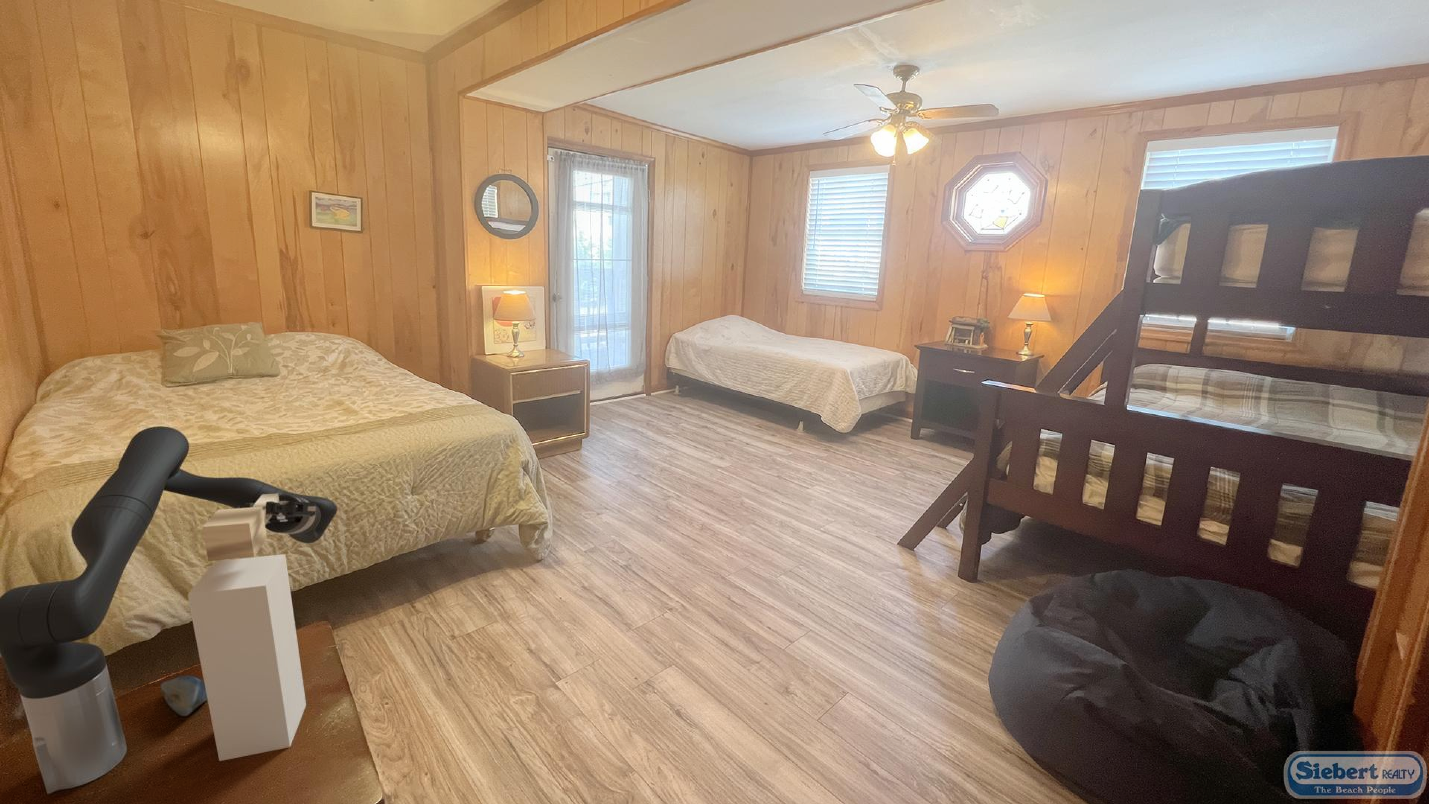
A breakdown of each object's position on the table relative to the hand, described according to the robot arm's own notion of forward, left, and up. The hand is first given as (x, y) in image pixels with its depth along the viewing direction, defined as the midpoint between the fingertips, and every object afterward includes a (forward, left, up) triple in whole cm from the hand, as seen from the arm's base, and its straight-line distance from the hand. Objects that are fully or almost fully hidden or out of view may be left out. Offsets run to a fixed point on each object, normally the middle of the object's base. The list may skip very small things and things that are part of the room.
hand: (258, 508), depth 105 cm
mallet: (-2, -3, -3) cm, 4 cm away
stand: (-6, -9, -39) cm, 40 cm away
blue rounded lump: (-13, +8, -39) cm, 42 cm away
